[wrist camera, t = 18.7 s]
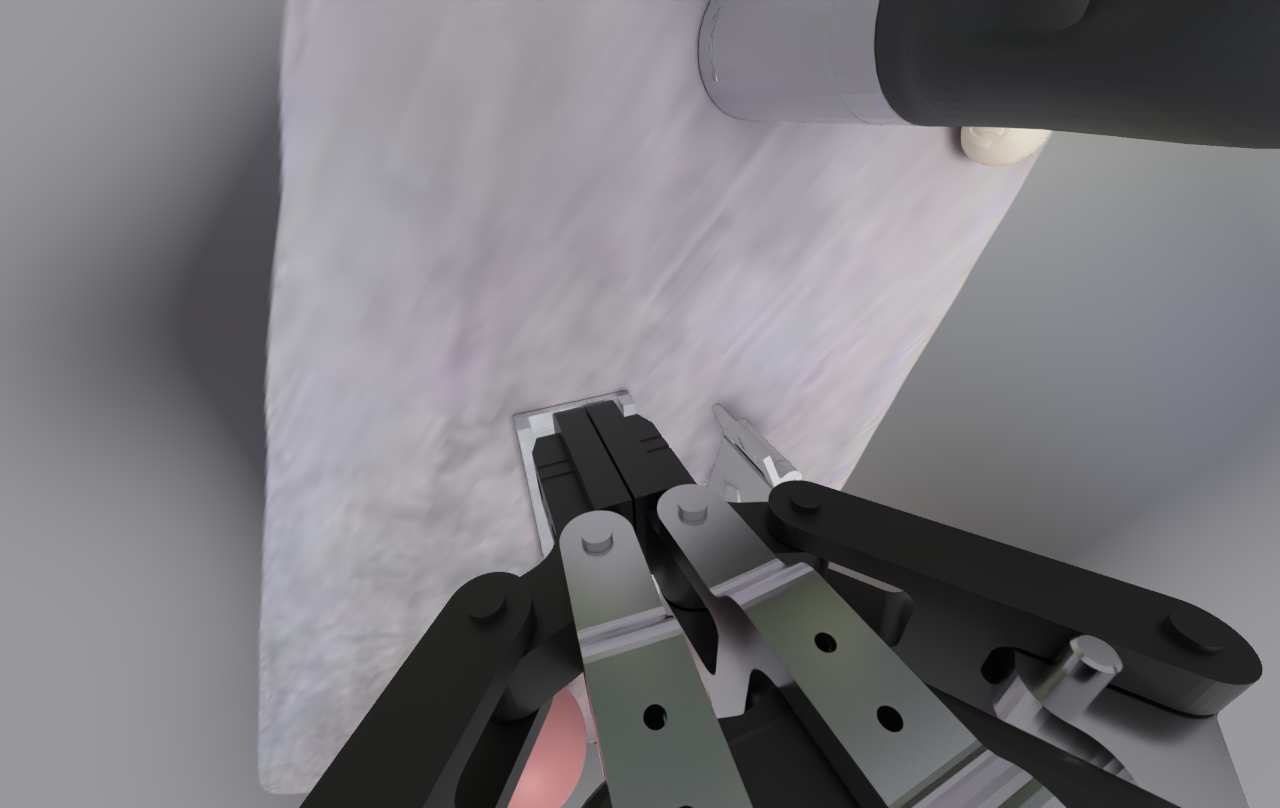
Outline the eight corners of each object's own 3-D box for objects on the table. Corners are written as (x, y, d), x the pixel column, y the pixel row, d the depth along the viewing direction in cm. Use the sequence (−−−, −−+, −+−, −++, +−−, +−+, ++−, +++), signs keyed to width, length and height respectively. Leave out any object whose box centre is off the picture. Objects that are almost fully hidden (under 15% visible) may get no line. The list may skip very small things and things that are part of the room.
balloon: (408, 673, 56) (404, 831, 44) (575, 635, 64) (611, 760, 52) (414, 744, 63) (412, 898, 51) (564, 703, 71) (593, 827, 59)
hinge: (711, 404, 52) (763, 457, 44) (753, 394, 54) (811, 443, 46) (704, 498, 60) (748, 559, 52) (742, 487, 61) (790, 544, 53)
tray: (626, 390, 47) (640, 410, 44) (634, 528, 57) (646, 552, 54) (513, 415, 44) (520, 439, 41) (543, 556, 54) (550, 584, 51)
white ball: (963, 71, 43) (1039, 66, 38) (1012, 91, 46) (1089, 89, 41) (929, 154, 46) (995, 161, 41) (977, 168, 49) (1044, 175, 44)
